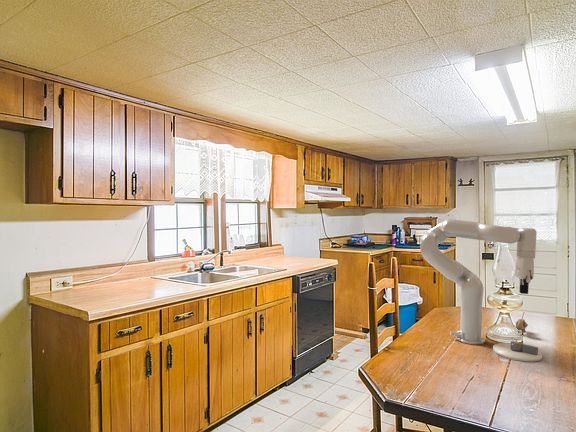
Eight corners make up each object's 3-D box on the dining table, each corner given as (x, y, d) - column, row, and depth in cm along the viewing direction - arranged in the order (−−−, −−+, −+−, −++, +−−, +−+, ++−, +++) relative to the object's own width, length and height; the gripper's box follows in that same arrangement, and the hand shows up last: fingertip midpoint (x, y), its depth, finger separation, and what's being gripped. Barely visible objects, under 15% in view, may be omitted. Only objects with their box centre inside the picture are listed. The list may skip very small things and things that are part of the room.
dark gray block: (509, 349, 178) (509, 342, 178) (512, 347, 182) (512, 339, 182) (535, 356, 171) (536, 348, 171) (538, 353, 174) (539, 345, 174)
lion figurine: (528, 338, 200) (528, 320, 200) (515, 336, 202) (516, 319, 202) (525, 330, 213) (525, 313, 213) (513, 329, 216) (514, 312, 215)
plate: (505, 360, 169) (505, 357, 169) (485, 345, 188) (485, 342, 188) (551, 362, 168) (551, 359, 168) (527, 347, 187) (527, 343, 187)
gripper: (511, 252, 194) (509, 289, 195) (523, 255, 180) (520, 296, 180) (528, 253, 193) (526, 290, 193) (541, 256, 178) (539, 297, 179)
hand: (523, 293), depth 187 cm, fingers closed
